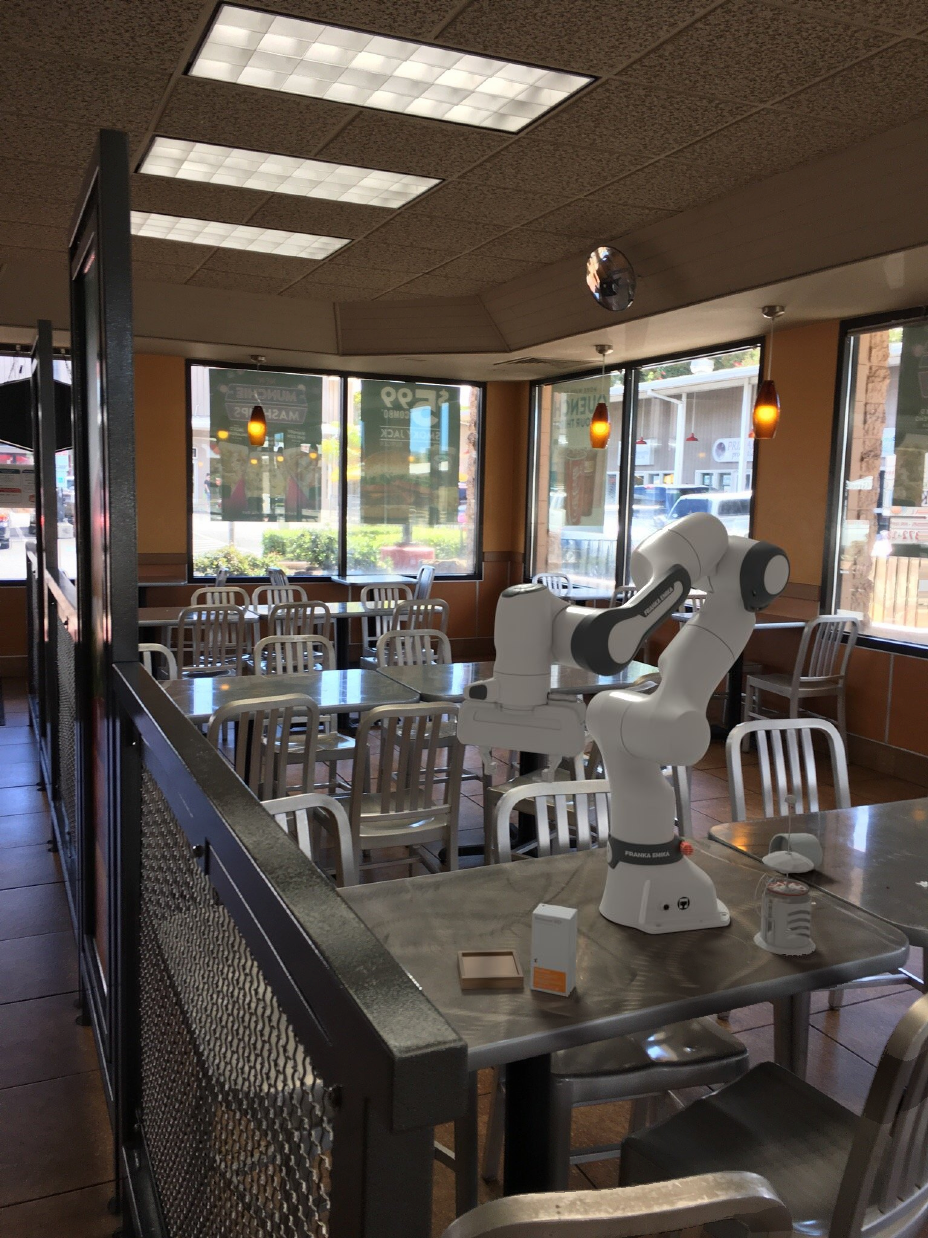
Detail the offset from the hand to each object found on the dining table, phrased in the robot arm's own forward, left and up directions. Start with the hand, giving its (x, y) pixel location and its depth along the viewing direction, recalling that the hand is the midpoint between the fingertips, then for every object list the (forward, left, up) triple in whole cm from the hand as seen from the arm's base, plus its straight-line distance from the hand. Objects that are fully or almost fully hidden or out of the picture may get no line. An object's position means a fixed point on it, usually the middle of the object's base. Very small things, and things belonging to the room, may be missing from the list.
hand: (519, 778), depth 154 cm
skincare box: (-4, +10, -30) cm, 31 cm away
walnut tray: (+5, +5, -29) cm, 30 cm away
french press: (-44, -3, -30) cm, 53 cm away
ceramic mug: (-60, -38, -30) cm, 77 cm away
